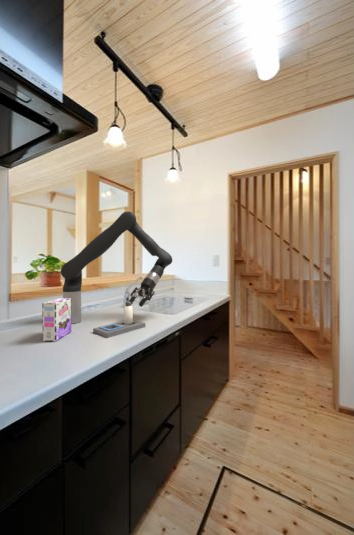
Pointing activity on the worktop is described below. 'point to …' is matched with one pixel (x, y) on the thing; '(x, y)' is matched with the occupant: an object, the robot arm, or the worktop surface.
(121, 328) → the grey socket board
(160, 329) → the worktop surface
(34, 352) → the worktop surface
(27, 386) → the worktop surface
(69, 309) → the candy box
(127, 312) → the cream upright block
